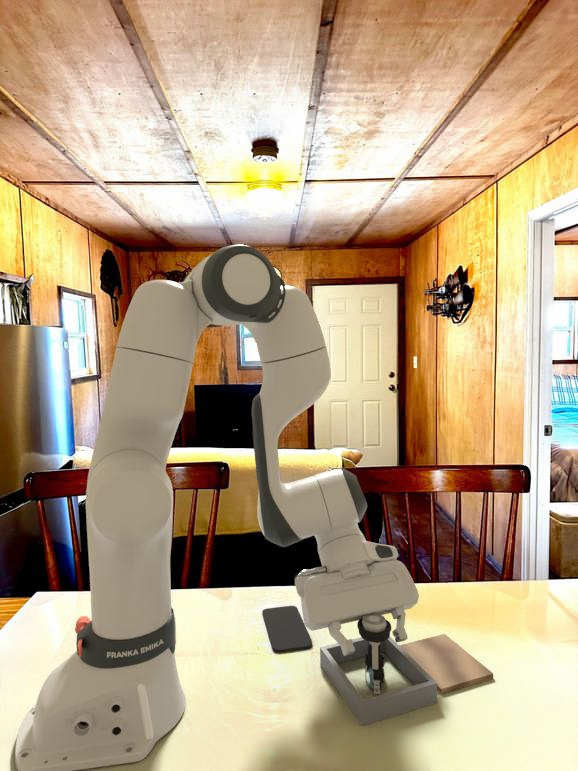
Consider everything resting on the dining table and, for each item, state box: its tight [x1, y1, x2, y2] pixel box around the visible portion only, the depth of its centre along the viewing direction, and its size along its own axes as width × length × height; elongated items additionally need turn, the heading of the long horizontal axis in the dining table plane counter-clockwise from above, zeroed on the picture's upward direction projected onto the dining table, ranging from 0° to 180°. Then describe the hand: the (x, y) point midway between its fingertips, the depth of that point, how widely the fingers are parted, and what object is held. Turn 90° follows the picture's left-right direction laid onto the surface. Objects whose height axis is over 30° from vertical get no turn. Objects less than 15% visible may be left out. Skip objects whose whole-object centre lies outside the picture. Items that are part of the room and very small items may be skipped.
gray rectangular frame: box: [319, 636, 438, 727], centre depth 75 cm, size 13×15×3 cm
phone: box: [261, 605, 313, 654], centre depth 91 cm, size 7×1×15 cm
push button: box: [357, 613, 392, 695], centre depth 75 cm, size 7×5×10 cm
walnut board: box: [398, 633, 494, 695], centre depth 80 cm, size 10×12×1 cm
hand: (376, 647), depth 75 cm, fingers open, 8 cm apart
